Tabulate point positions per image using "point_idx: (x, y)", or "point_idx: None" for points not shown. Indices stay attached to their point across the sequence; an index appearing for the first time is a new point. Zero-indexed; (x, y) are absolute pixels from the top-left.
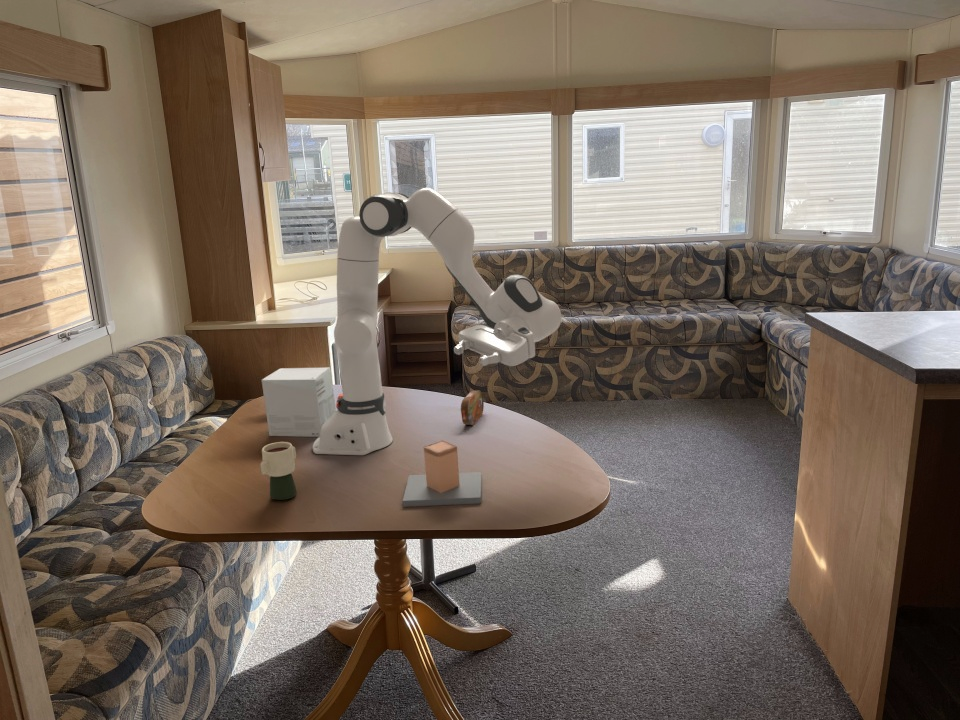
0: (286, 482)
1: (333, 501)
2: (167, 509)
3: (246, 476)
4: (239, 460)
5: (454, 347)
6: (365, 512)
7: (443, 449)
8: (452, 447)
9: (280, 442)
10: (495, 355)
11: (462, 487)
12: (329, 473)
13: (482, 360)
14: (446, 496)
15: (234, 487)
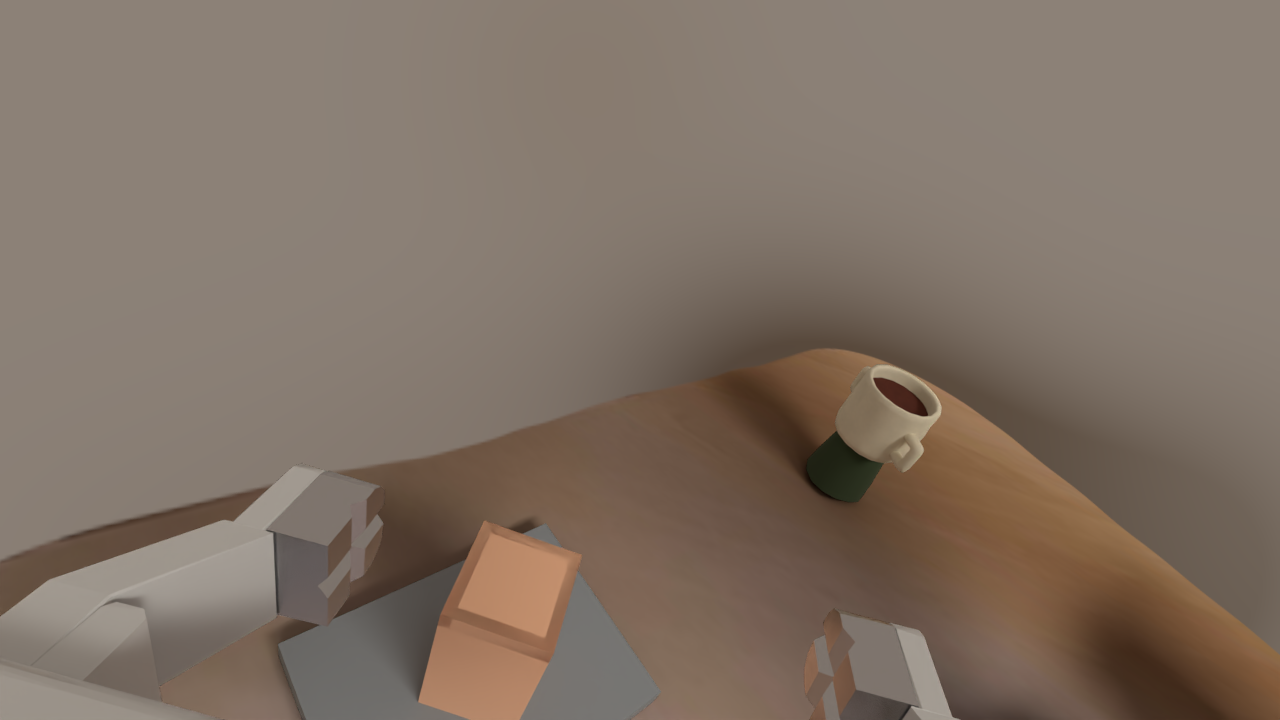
0: (830, 441)
1: (725, 499)
2: None
3: (996, 532)
4: (1111, 595)
5: (915, 630)
6: (611, 479)
7: (484, 561)
8: (455, 595)
9: (933, 414)
10: (78, 575)
11: (396, 690)
12: None
13: (312, 469)
14: (423, 598)
15: (948, 483)
